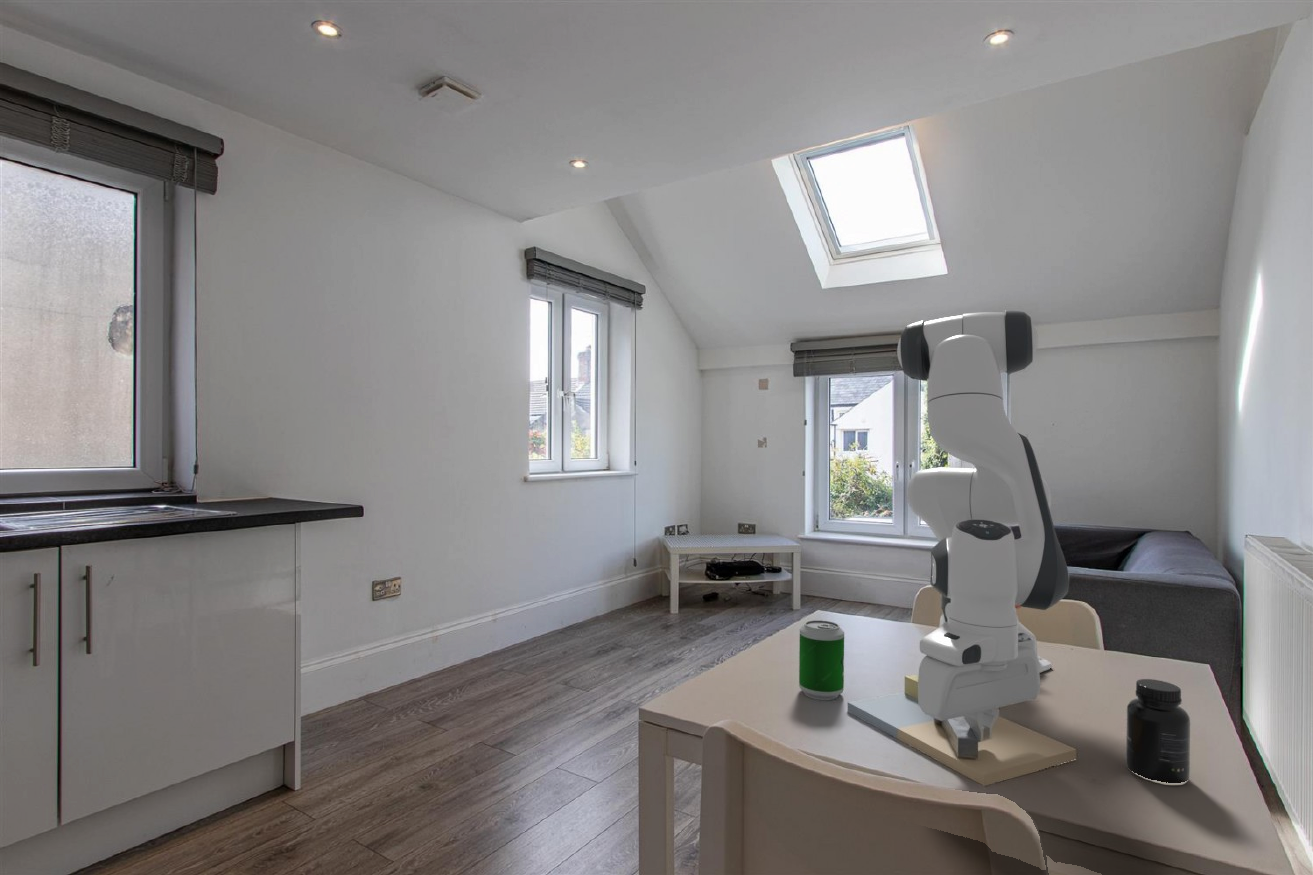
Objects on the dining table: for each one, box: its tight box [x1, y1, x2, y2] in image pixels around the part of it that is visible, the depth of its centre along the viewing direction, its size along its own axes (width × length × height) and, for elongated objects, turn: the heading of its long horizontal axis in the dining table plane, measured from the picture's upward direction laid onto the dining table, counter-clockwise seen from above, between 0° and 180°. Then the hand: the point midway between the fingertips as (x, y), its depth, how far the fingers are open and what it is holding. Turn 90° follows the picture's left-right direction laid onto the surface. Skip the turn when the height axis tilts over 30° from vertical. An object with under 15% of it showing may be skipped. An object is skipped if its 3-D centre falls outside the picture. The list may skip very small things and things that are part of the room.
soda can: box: [798, 619, 845, 701], centre depth 118 cm, size 8×8×12 cm
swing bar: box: [934, 716, 978, 759], centre depth 97 cm, size 14×4×4 cm, turn 169°
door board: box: [847, 674, 1077, 787], centre depth 103 cm, size 18×26×4 cm
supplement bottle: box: [1125, 678, 1191, 783], centre depth 91 cm, size 7×7×12 cm
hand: (980, 739), depth 94 cm, fingers closed
